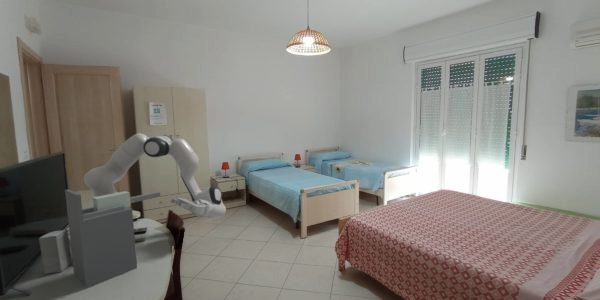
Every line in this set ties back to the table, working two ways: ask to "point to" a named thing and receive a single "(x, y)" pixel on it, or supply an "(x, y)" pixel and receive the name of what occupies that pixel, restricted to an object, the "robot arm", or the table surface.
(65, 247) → the skincare box
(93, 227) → the caddy bay
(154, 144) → the robot arm
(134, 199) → the pale block gray handle
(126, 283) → the table surface
